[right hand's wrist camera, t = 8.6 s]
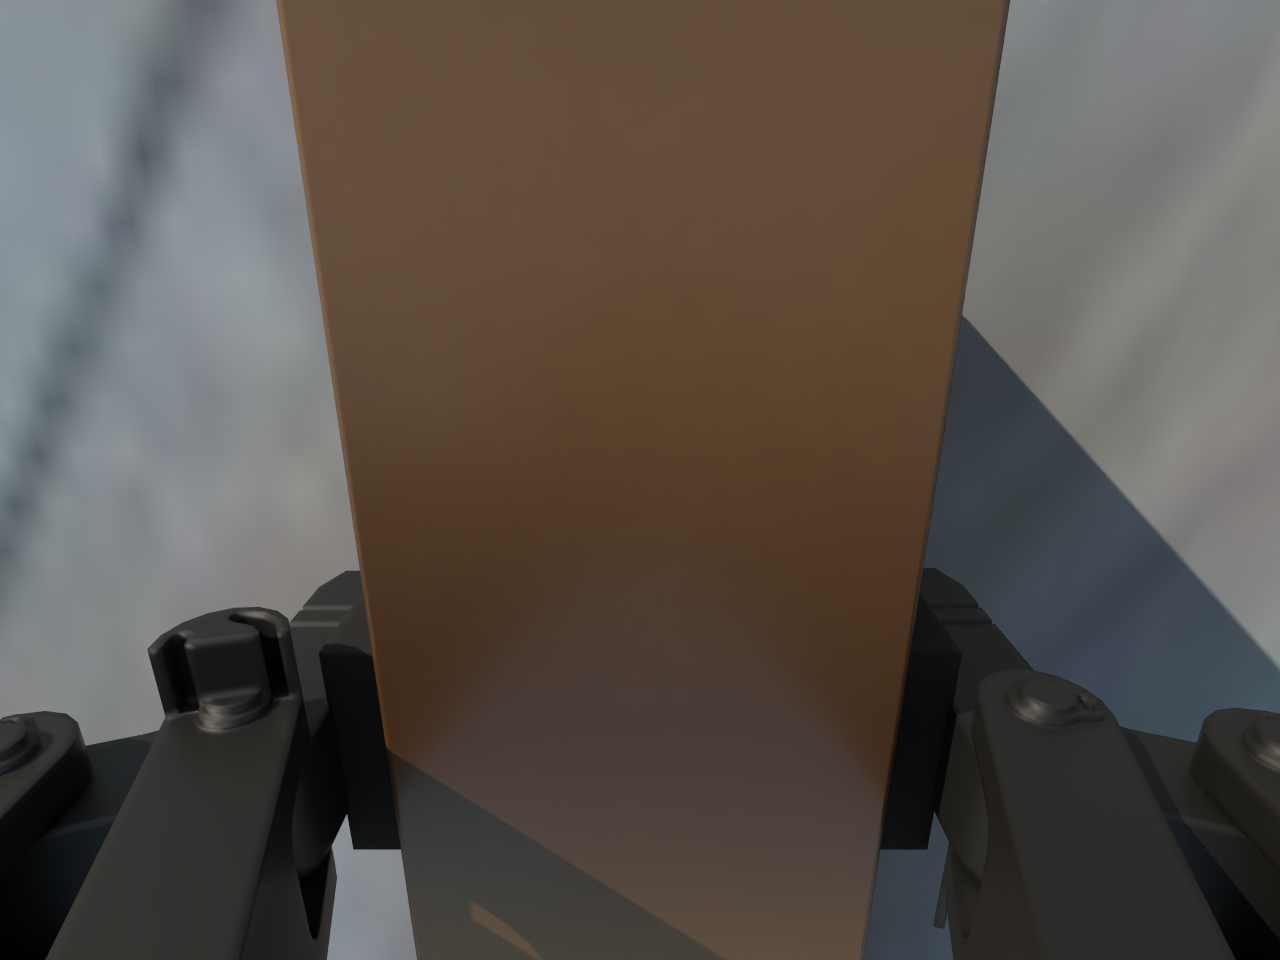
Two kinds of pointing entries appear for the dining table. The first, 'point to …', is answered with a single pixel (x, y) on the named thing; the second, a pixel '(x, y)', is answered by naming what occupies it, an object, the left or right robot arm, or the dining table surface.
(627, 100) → the bar
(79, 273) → the dining table surface
